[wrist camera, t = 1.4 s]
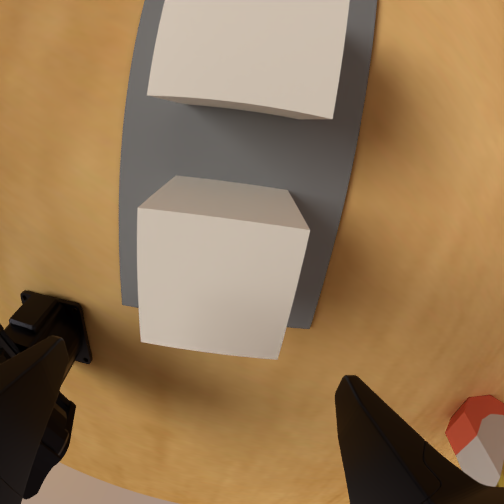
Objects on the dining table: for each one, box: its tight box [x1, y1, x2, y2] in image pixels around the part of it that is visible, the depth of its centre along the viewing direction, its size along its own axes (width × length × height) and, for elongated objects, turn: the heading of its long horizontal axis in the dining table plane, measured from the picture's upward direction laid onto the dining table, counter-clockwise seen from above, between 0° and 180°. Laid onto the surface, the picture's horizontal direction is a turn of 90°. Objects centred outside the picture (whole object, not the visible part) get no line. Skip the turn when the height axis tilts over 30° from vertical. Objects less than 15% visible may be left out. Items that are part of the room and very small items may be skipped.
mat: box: [119, 0, 377, 329], centre depth 17 cm, size 24×14×1 cm, turn 171°
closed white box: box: [147, 0, 350, 120], centre depth 12 cm, size 7×7×7 cm
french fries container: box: [445, 395, 504, 487], centre depth 22 cm, size 5×11×18 cm, turn 75°
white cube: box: [137, 175, 310, 360], centre depth 16 cm, size 7×7×7 cm
